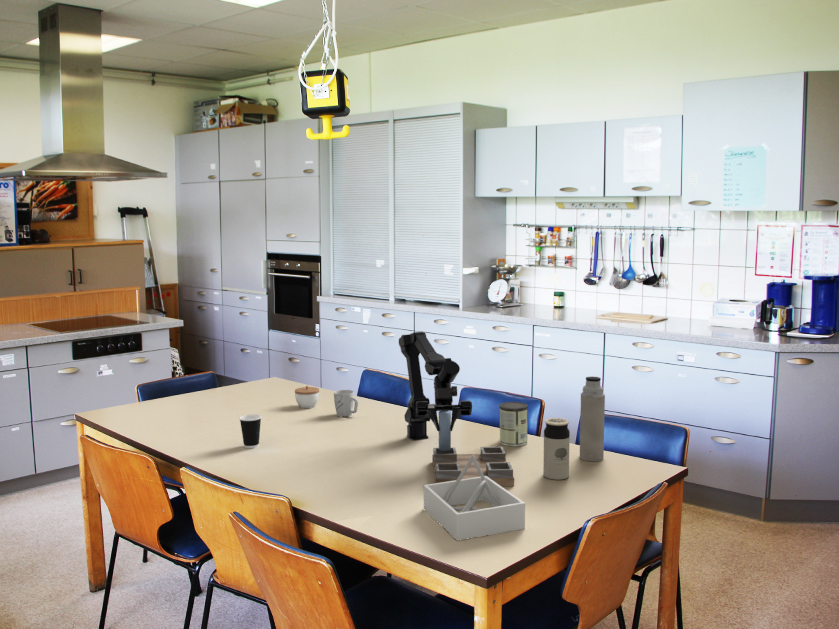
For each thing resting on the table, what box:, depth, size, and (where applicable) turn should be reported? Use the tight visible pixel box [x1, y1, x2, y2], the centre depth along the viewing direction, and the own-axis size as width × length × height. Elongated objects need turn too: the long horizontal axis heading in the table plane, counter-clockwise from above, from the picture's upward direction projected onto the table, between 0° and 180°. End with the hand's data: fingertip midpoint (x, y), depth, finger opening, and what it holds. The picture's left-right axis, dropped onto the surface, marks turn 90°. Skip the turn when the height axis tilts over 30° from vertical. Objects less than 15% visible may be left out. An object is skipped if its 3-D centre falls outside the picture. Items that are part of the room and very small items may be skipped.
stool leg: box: [438, 411, 452, 451], centre depth 239 cm, size 4×4×12 cm
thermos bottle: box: [579, 376, 606, 462], centre depth 245 cm, size 8×8×28 cm
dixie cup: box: [238, 414, 262, 449], centre depth 262 cm, size 8×8×11 cm
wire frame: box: [444, 455, 499, 512], centre depth 195 cm, size 18×13×16 cm
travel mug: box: [542, 417, 571, 481], centre depth 228 cm, size 8×8×18 cm
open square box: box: [423, 476, 526, 541], centre depth 196 cm, size 20×23×7 cm
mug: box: [333, 389, 359, 417], centre depth 304 cm, size 11×8×10 cm
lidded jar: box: [294, 385, 320, 409], centre depth 320 cm, size 11×11×9 cm
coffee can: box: [498, 401, 529, 447], centre depth 264 cm, size 10×10×14 cm
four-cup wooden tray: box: [431, 446, 515, 487], centre depth 232 cm, size 24×24×5 cm
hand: (444, 430), depth 237 cm, fingers closed on stool leg, 4 cm apart
